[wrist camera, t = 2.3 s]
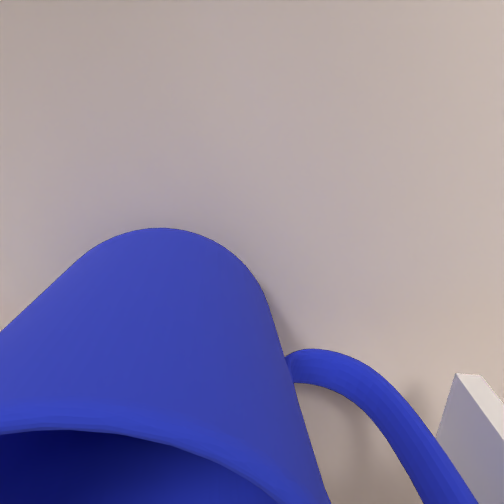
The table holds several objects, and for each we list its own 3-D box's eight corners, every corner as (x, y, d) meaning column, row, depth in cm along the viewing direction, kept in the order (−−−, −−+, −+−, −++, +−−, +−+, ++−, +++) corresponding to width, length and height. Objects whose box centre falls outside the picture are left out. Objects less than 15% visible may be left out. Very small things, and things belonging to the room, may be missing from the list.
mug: (352, 435, 19) (464, 793, 10) (40, 387, 18) (-173, 749, 8) (424, 246, 16) (682, 502, 7) (57, 171, 15) (-244, 362, 5)
